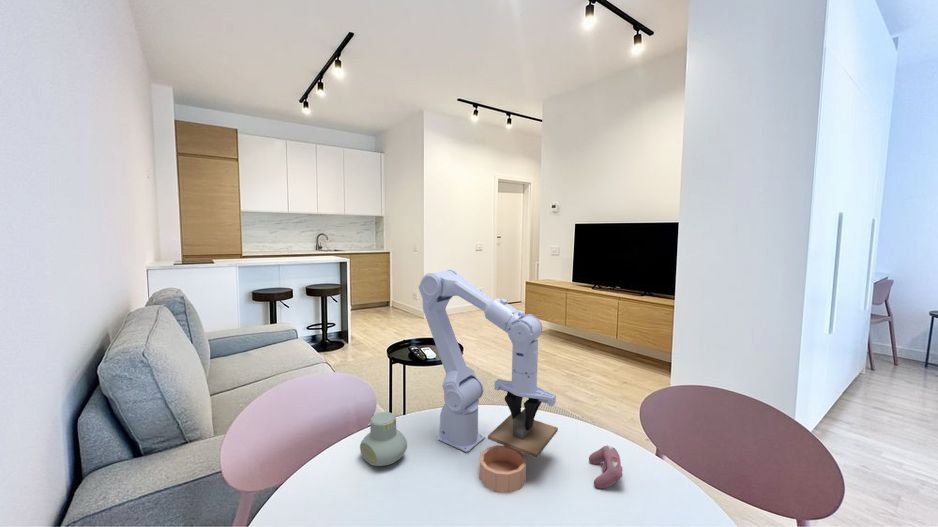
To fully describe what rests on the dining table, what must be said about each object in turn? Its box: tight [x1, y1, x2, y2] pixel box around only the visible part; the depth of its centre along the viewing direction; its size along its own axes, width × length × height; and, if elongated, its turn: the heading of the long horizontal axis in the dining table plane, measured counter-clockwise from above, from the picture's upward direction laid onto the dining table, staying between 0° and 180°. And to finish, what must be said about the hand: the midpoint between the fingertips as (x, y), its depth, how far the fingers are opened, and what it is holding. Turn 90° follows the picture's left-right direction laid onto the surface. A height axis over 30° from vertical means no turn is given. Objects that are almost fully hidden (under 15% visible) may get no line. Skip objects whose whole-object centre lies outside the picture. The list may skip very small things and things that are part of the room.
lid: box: [487, 408, 559, 459], centre depth 85 cm, size 12×12×5 cm
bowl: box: [478, 444, 527, 494], centre depth 81 cm, size 10×10×4 cm
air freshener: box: [359, 411, 408, 467], centre depth 86 cm, size 11×8×10 cm
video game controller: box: [588, 444, 623, 489], centre depth 81 cm, size 10×5×7 cm, turn 169°
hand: (523, 426), depth 85 cm, fingers closed on lid, 2 cm apart
